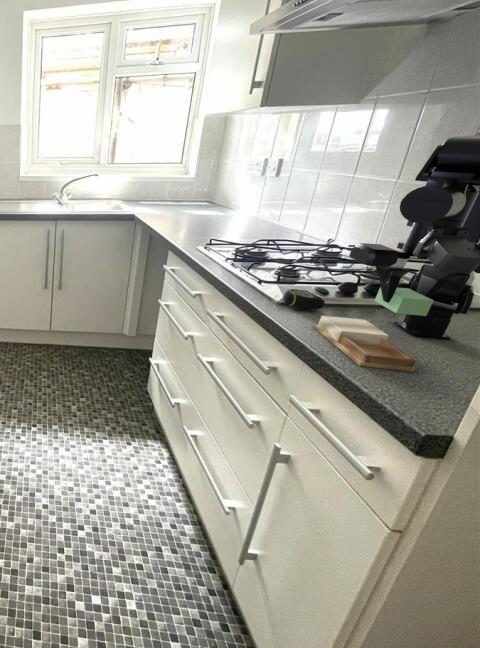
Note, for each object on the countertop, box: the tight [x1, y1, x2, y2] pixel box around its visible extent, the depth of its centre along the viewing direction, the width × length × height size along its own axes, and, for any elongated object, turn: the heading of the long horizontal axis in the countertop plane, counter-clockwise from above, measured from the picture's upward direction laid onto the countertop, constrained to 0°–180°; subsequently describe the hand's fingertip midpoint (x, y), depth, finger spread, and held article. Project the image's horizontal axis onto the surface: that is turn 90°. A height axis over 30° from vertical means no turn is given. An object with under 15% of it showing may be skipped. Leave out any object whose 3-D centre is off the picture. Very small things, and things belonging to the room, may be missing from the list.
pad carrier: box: [315, 315, 417, 373], centre depth 82 cm, size 16×8×3 cm, turn 166°
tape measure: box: [282, 288, 326, 311], centre depth 101 cm, size 7×7×4 cm
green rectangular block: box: [374, 286, 434, 316], centre depth 76 cm, size 6×4×3 cm
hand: (401, 303), depth 76 cm, fingers closed on green rectangular block, 4 cm apart
